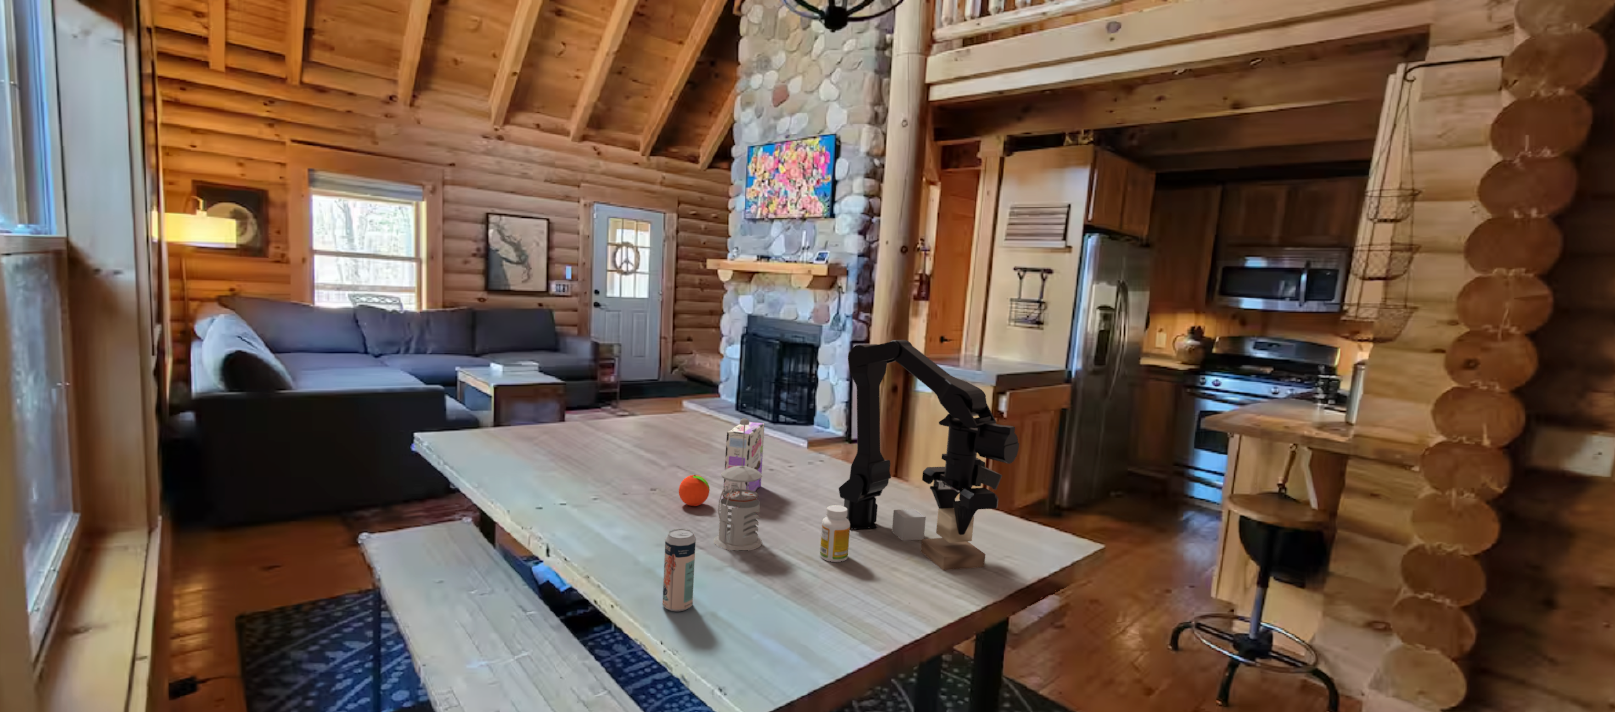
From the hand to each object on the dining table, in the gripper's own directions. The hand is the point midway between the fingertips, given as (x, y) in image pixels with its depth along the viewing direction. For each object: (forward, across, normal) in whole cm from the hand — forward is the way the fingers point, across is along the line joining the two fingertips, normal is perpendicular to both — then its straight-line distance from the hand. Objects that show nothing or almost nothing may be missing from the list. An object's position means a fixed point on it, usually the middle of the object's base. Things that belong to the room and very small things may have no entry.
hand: (954, 529), depth 136 cm
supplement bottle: (+6, +5, +23) cm, 24 cm away
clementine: (+6, +38, +44) cm, 58 cm away
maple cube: (+2, 0, 0) cm, 2 cm away
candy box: (+6, +46, +31) cm, 56 cm away
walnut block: (+6, 0, 0) cm, 6 cm away
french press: (+6, +15, +40) cm, 43 cm away
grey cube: (+6, +13, +3) cm, 15 cm away
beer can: (+6, -9, +55) cm, 56 cm away
